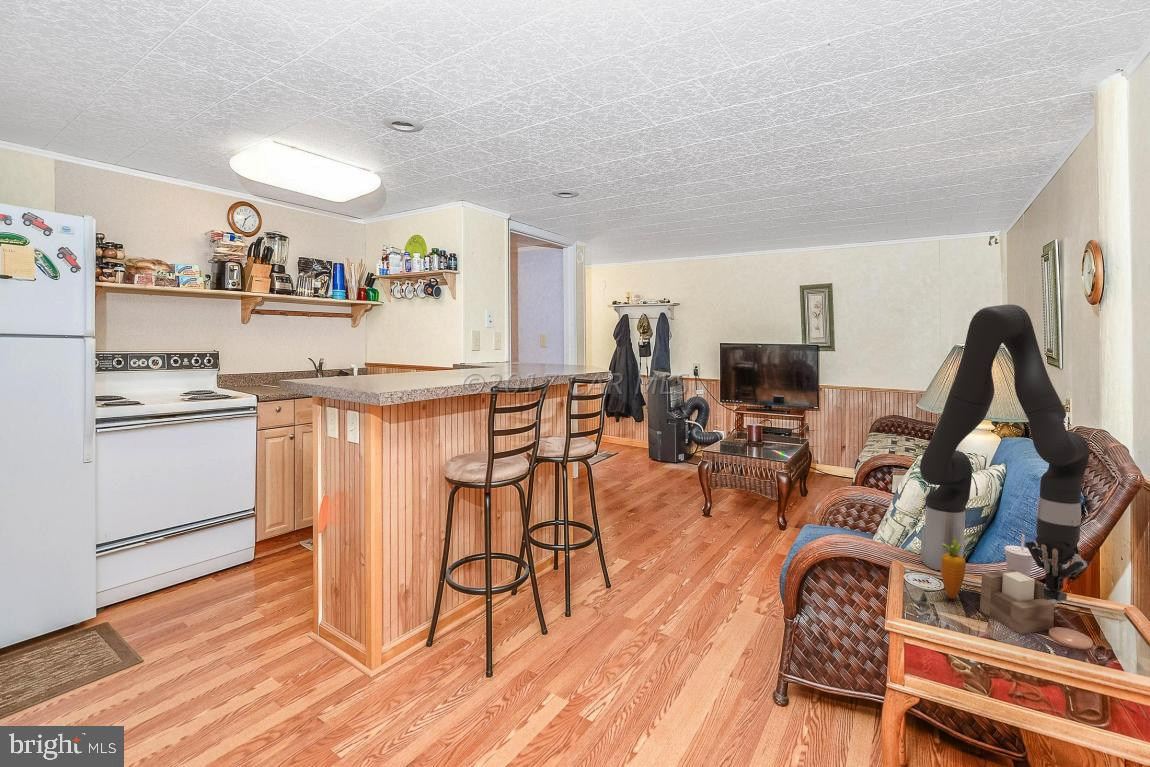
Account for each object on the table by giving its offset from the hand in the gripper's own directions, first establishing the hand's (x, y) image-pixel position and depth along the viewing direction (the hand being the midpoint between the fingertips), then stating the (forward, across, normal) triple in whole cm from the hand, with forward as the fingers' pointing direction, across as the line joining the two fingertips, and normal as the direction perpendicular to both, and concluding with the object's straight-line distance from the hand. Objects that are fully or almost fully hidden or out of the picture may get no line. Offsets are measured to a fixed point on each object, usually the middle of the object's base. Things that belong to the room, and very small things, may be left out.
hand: (1053, 589), depth 125 cm
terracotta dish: (+6, +9, -6) cm, 13 cm away
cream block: (+2, 0, -10) cm, 10 cm away
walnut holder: (+6, 0, -9) cm, 11 cm away
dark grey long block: (+2, 0, -5) cm, 6 cm away
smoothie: (+6, -13, +6) cm, 16 cm away
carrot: (+6, -11, -16) cm, 21 cm away
